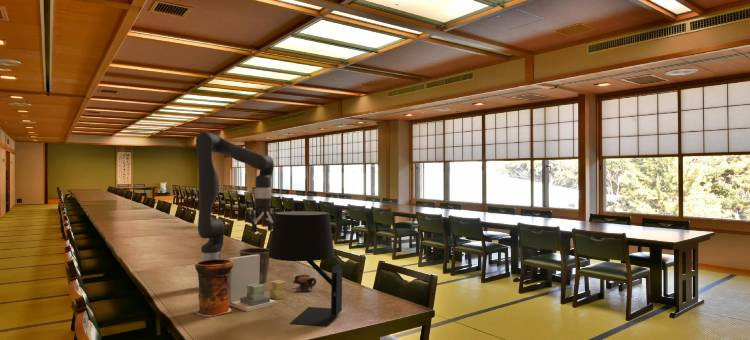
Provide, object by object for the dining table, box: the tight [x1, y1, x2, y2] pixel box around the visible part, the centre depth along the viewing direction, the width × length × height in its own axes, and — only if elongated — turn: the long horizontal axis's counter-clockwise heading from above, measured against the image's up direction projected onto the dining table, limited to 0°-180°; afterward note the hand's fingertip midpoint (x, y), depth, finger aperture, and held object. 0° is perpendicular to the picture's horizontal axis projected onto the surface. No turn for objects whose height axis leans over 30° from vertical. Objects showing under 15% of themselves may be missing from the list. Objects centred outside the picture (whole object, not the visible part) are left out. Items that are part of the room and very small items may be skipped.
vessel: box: [194, 258, 233, 317], centre depth 178 cm, size 14×14×20 cm
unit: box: [228, 254, 277, 313], centre depth 189 cm, size 14×14×20 cm
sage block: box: [247, 283, 265, 300], centre depth 187 cm, size 5×5×7 cm
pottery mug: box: [293, 274, 318, 293], centre depth 216 cm, size 12×10×8 cm
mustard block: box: [269, 279, 287, 300], centre depth 201 cm, size 5×5×7 cm
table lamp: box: [268, 210, 343, 328], centre depth 175 cm, size 26×28×40 cm
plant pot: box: [239, 247, 270, 284], centre depth 231 cm, size 16×16×16 cm
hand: (262, 231), depth 212 cm, fingers open, 8 cm apart
